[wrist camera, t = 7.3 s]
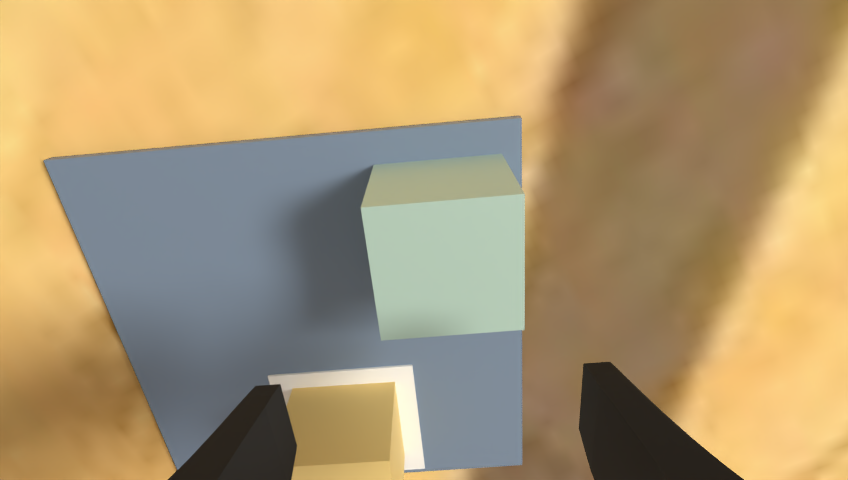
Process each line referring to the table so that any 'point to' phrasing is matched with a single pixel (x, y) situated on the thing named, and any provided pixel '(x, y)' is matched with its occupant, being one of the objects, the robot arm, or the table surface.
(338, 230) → the board
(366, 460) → the mustard block
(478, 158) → the sage block
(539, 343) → the table surface
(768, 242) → the table surface
